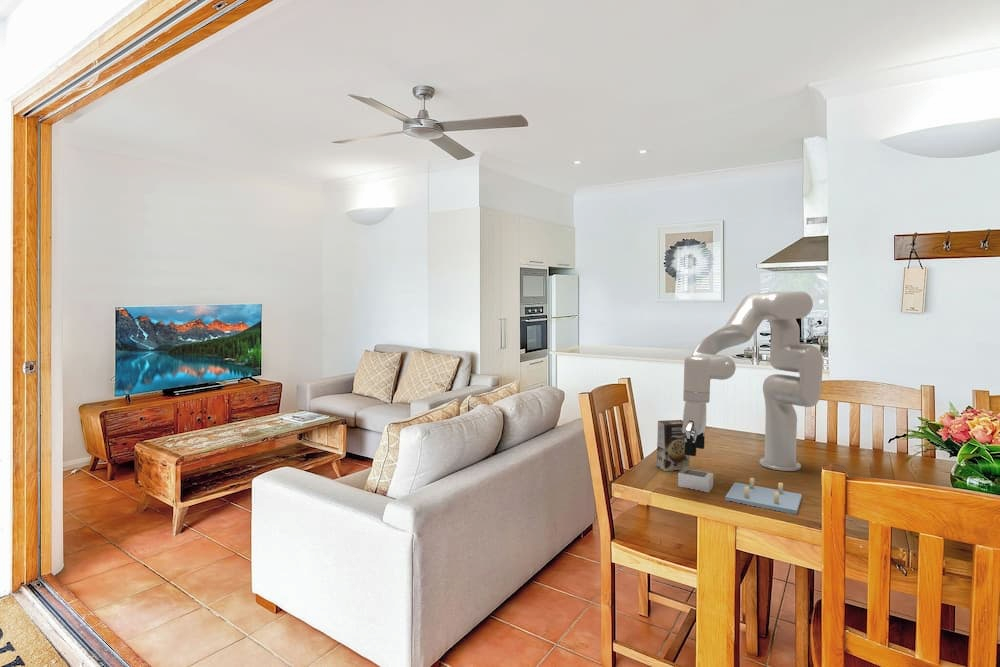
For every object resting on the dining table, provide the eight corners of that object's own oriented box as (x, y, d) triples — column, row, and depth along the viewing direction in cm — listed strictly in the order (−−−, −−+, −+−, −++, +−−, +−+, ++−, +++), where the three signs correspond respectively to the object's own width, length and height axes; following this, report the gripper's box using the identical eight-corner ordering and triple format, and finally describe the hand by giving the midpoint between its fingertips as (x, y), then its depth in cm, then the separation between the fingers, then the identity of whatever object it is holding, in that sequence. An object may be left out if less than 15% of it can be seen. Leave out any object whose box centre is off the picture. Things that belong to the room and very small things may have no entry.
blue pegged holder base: (734, 486, 162) (735, 472, 162) (801, 498, 152) (802, 483, 151) (725, 500, 150) (725, 486, 150) (796, 514, 140) (797, 499, 140)
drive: (683, 481, 167) (683, 467, 166) (712, 487, 162) (713, 473, 161) (678, 487, 162) (678, 472, 162) (708, 493, 157) (708, 478, 157)
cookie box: (665, 471, 176) (665, 424, 175) (656, 465, 182) (656, 420, 181) (690, 470, 177) (690, 423, 176) (680, 464, 184) (681, 418, 182)
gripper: (691, 391, 169) (689, 443, 170) (675, 399, 155) (673, 456, 156) (715, 393, 165) (714, 447, 166) (702, 402, 151) (700, 460, 152)
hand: (694, 451), depth 161 cm, fingers open, 9 cm apart
